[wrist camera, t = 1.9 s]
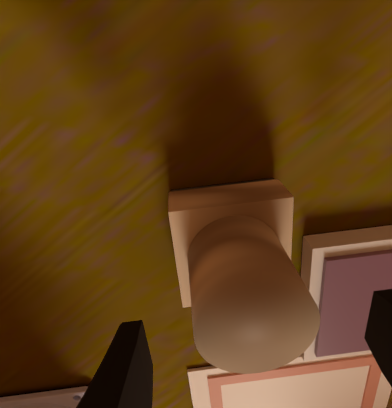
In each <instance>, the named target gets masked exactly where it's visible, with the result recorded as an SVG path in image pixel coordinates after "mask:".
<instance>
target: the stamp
mask: <svg viewBox="0 0 392 408" xmlns="http://www.w3.org/2000/svg"><path fill="white" fill-rule="evenodd" d="M293 203H294V197H293V196H292V195H291V193H290V192H289V191H288V190H287V189H286V188H285V186H284V185H283V184H282V183H281V182H280V181H279V180H278V179H274V178H268V179H259V180H251V181H242V182H234V183H225V184H217V185H209V186H200V187H192V188H183V189H175V190H171V192H169V197H168V214H169V220H170V227H171V233H172V240H173V246H174V253H175V259H176V266H177V272H178V279H179V285H180V292H181V298H182V305H183V308H184V307H191V308H192V320H193V333H194V341H195V345H196V348H197V350H198V352H199V353H200V355H201V356H202V357H203V358H204V359H205V360H206V361H207V362H209V363H210V364H211V365H213V366H215V367H217V368H219V369H222V370H225V371H228V372H233V373H241V374H252V373H261V372H266V371H270V370H273V369H276V368H279V367H281V366H284V365H286V364H288V363H290V362H291V361H293V360H295V359H296V358H297V357H299V356H300V355H301V354H302V353H304V352H305V351H306V350H307V348H308V347H309V346H310V345H311V344H312V342H313V341H314V339H315V337H316V335H317V333H318V330H319V326H320V313H319V309H318V307H317V304H316V303H315V301H314V299H313V298H312V296H311V294H310V292H309V291H308V289H307V287H306V286H305V284H304V282H303V280H302V279H301V277H300V275H299V274H298V272H297V270H296V268H295V267H294V265H293V263H292V262H291V248H292V225H293Z"/></svg>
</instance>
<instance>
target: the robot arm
mask: <svg viewBox="0 0 392 408" xmlns="http://www.w3.org/2000/svg"><path fill="white" fill-rule="evenodd" d="M364 338H365V340H366V342H367V344H368V346H369V349H370V351H371V353H372V355H373V357H374V358H375V360H376V362H377V364H378V366H379V368H380V370H381V372H382V373H383V375H384V376H385V378H386V379H387V381H388V382H389V384H390V385H391V387H392V289H387V290H379V291H374V292H373V297H372V302H371V307H370V312H369V317H368V321H367V326H366V331H365V336H364ZM152 392H153V364H152V360H151V355H150V351H149V347H148V343H147V339H146V334H145V330H144V326H143V322H142V320H139V321H131V322H123V323H122V324H121V325H120V326H119V328H118V330H117V332H116V334H115V336H114V338H113V341H112V343H111V345H110V347H109V349H108V351H107V353H106V355H105V357H104V358H103V360H102V362H101V364H100V366H99V368H98V370H97V372H96V373H95V375H94V377H93V379H92V381H91V382H90V384H89V386H83V387H76V388H68V389H60V390H53V391H45V392H38V393H30V394H23V395H15V396H8V397H0V408H152Z"/></svg>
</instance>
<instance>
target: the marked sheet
mask: <svg viewBox="0 0 392 408" xmlns="http://www.w3.org/2000/svg"><path fill="white" fill-rule="evenodd" d="M187 370H188V378H189V384H190V390H191V396H192V402H193V408H386V407H387V403H388V400H389V396H390V393H391V389H392V387H391V385H390V384H389V382H388V381H387V379H386V378H385V376H384V375H383V373H382V372H381V370H380V368H379V366H378V364H377V362H376V360H375V358H374V357H373V355H372V353H371V352H368V353H360V354H353V355H345V356H338V357H330V358H322V359H315V360H307V361H303V358H302V356H301V355H300V356H299V357H297V358H296V359H295V360H293V361H291V362H290V363H288V364H286V365H284V366H281V367H279V368H276V369H273V370H270V371H266V372H261V373H252V374H241V373H233V372H228V371H225V370H222V369H219V368H217V367H215V366H208V367H201V368H193V369H187Z"/></svg>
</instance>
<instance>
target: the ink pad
mask: <svg viewBox="0 0 392 408" xmlns="http://www.w3.org/2000/svg"><path fill="white" fill-rule="evenodd" d="M301 279H302V280H303V282H304V284H305V286H306V287H307V289H308V291H309V292H310V294H311V296H312V298H313V299H314V301H315V303H316V304H317V307H318V309H319V313H320V326H319V330H318V333H317V335H316V337H315V339H314V341H313V342H312V344H311V345H310V346H309V347H308V348H307V350H306V351H305V352H304V353H302V354H301V356H302V358H303V361H307V360H315V359H322V358H330V357H338V356H345V355H353V354H360V353H368V352H371V351H370V349H369V346H368V344H367V342H366V340H365V338H364V336H365V331H366V326H367V321H368V317H369V312H370V307H371V302H372V297H373V292H374V291H379V290H387V289H392V225H388V226H380V227H372V228H363V229H355V230H347V231H339V232H331V233H323V234H315V235H307V236H303V246H302V262H301Z"/></svg>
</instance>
